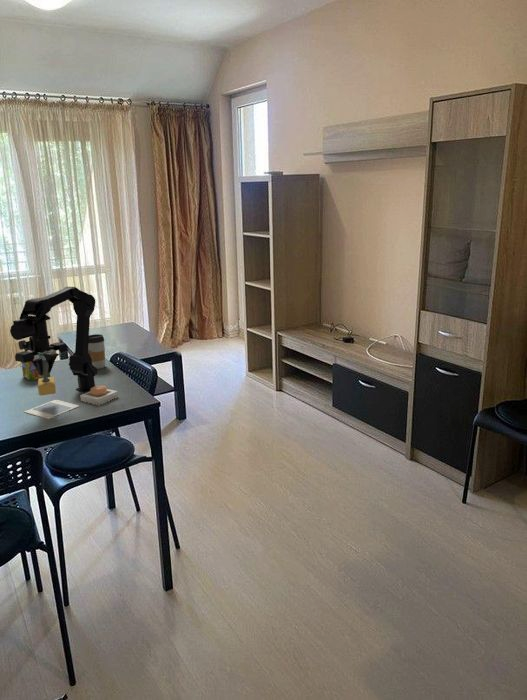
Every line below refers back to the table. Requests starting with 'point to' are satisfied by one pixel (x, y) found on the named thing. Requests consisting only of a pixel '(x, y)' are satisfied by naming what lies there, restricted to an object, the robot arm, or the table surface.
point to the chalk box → (32, 370)
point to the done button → (98, 391)
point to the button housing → (101, 399)
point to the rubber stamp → (46, 381)
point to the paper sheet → (51, 409)
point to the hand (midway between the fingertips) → (45, 374)
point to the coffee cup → (97, 350)
